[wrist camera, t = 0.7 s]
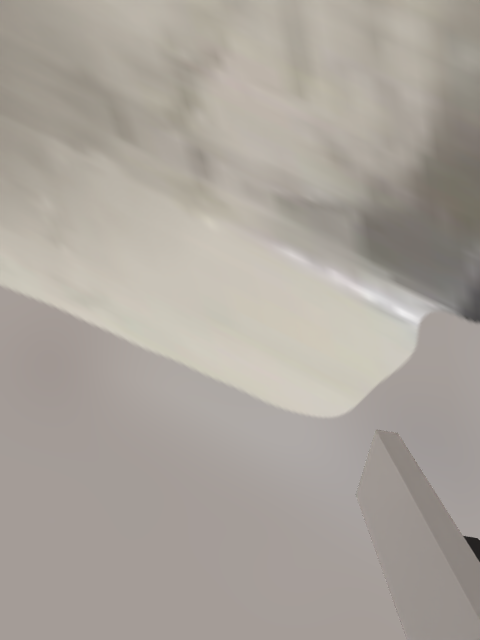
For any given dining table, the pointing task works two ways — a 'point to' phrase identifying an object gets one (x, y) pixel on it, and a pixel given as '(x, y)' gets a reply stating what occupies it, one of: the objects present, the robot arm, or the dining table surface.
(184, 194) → the dining table surface
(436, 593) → the robot arm
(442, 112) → the dining table surface
